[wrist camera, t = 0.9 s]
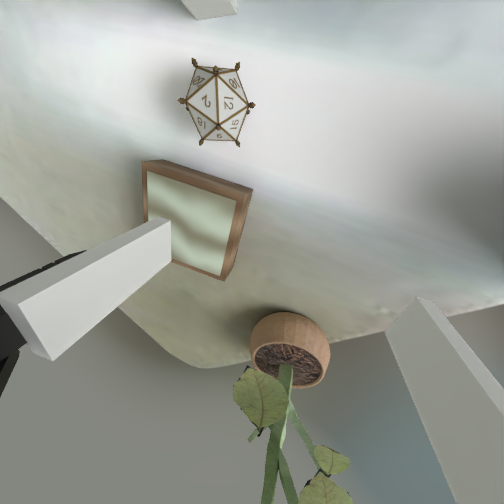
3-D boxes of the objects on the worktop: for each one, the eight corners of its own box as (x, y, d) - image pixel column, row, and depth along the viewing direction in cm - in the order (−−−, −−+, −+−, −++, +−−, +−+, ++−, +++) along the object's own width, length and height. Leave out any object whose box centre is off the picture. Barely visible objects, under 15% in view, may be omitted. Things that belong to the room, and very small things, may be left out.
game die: (226, 122, 31) (160, 114, 25) (245, 53, 24) (162, 22, 18) (253, 161, 28) (188, 163, 23) (284, 98, 22) (202, 77, 16)
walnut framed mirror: (163, 159, 32) (140, 161, 28) (253, 189, 31) (244, 196, 26) (162, 241, 40) (144, 252, 36) (233, 267, 39) (223, 282, 35)
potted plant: (332, 363, 45) (367, 642, 20) (258, 354, 50) (210, 567, 25) (336, 286, 36) (418, 643, 10) (244, 284, 41) (139, 518, 15)
